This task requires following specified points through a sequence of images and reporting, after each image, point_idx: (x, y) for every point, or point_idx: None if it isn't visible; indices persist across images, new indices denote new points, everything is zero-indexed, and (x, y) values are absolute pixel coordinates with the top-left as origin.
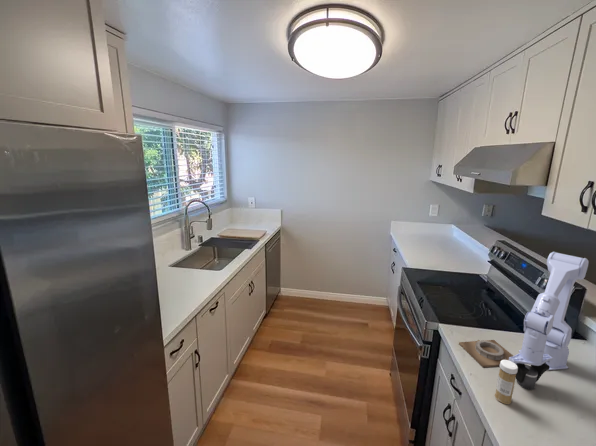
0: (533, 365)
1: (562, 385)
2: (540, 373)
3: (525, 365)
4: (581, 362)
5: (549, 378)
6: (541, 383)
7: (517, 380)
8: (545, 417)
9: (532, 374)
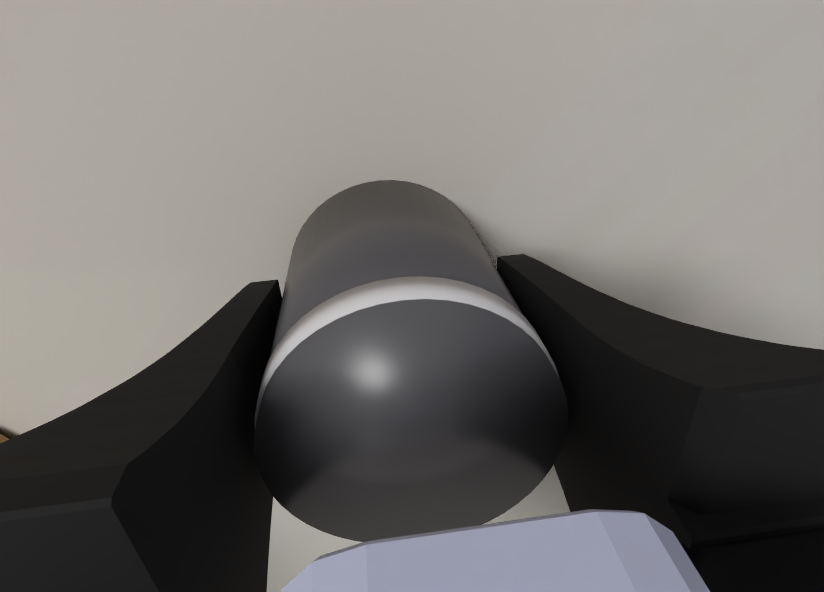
0: (602, 410)
1: (800, 285)
2: (566, 481)
3: (455, 346)
4: None
5: (793, 179)
6: (600, 260)
7: (290, 263)
8: (275, 576)
9: (385, 536)
